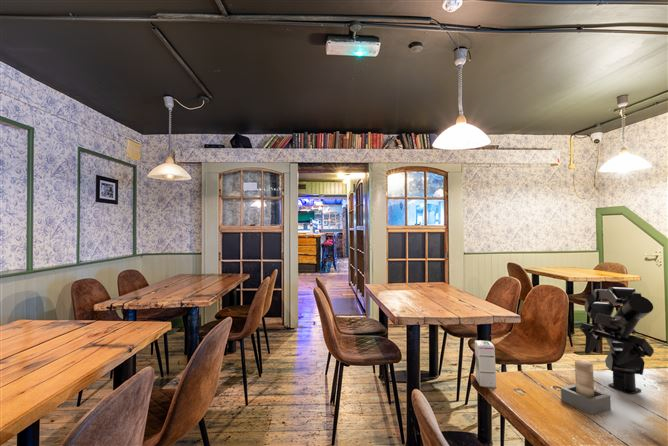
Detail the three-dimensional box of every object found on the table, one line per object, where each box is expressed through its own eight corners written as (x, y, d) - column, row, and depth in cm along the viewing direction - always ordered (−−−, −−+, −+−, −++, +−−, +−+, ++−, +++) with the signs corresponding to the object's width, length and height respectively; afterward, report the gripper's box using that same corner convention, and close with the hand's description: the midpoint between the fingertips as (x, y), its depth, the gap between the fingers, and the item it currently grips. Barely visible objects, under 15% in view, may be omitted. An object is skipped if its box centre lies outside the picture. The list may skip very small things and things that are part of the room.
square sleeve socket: (579, 395, 104) (579, 383, 104) (610, 409, 96) (610, 395, 96) (561, 400, 101) (560, 387, 101) (591, 414, 92) (591, 401, 93)
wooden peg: (582, 399, 101) (580, 359, 102) (598, 406, 97) (596, 364, 97) (573, 402, 100) (571, 361, 100) (588, 409, 95) (586, 366, 96)
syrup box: (497, 388, 109) (495, 346, 110) (478, 386, 110) (477, 344, 111) (492, 380, 115) (491, 340, 116) (475, 379, 116) (474, 339, 117)
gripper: (581, 299, 112) (558, 333, 108) (644, 311, 94) (619, 352, 90) (599, 320, 113) (577, 354, 110) (664, 336, 95) (640, 377, 92)
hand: (600, 358), depth 101 cm, fingers open, 9 cm apart
